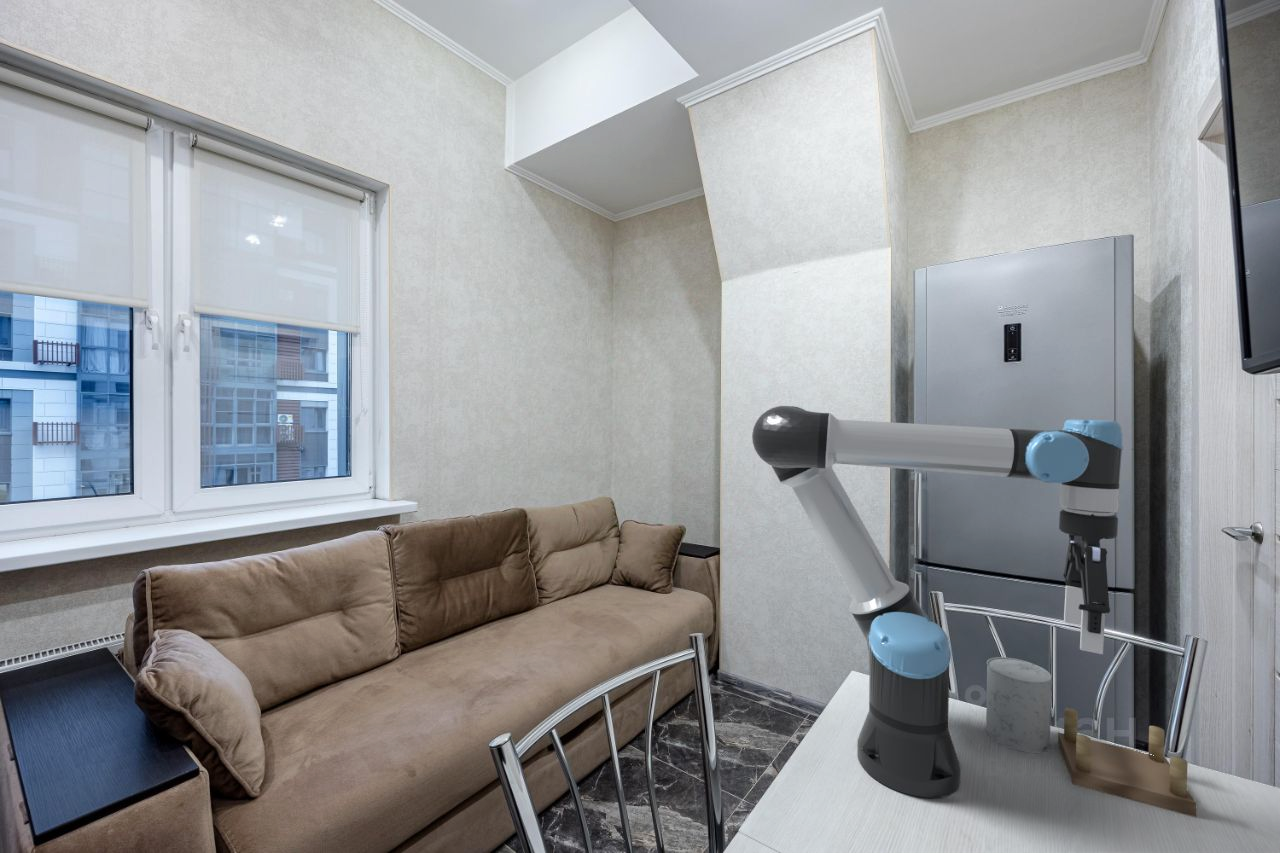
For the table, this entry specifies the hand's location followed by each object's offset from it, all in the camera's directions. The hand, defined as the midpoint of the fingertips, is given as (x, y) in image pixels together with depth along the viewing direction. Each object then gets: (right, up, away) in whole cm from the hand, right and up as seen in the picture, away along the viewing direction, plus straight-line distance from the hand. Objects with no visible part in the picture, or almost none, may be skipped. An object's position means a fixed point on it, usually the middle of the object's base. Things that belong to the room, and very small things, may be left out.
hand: (1081, 636), depth 90 cm
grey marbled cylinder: (-7, -21, +6) cm, 22 cm away
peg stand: (+2, -21, -5) cm, 21 cm away
